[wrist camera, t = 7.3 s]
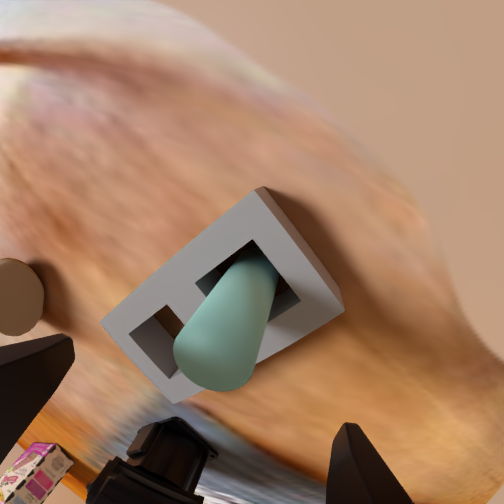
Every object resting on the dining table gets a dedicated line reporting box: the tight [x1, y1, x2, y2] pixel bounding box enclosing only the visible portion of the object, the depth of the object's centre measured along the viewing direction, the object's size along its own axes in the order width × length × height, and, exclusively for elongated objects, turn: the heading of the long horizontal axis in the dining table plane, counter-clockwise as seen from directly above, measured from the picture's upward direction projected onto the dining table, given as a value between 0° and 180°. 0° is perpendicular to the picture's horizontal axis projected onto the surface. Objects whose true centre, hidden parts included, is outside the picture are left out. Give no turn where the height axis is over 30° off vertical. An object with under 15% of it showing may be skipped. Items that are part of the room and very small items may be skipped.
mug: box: [0, 258, 44, 336], centre depth 22 cm, size 8×10×10 cm
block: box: [99, 186, 345, 404], centre depth 19 cm, size 8×14×4 cm, turn 129°
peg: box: [173, 248, 280, 391], centre depth 15 cm, size 3×3×10 cm
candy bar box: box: [0, 442, 74, 504], centre depth 27 cm, size 11×5×16 cm, turn 120°
